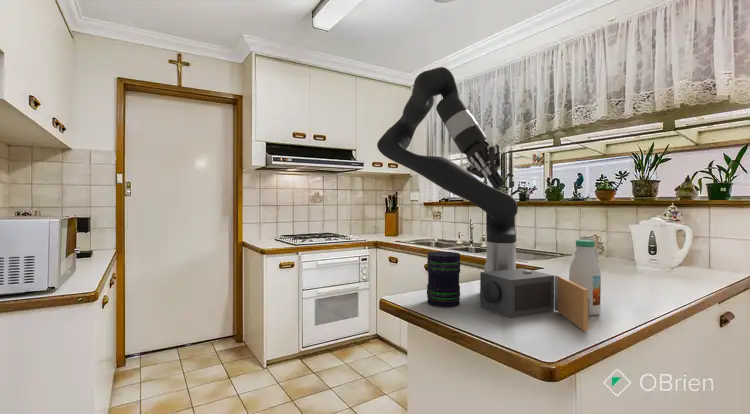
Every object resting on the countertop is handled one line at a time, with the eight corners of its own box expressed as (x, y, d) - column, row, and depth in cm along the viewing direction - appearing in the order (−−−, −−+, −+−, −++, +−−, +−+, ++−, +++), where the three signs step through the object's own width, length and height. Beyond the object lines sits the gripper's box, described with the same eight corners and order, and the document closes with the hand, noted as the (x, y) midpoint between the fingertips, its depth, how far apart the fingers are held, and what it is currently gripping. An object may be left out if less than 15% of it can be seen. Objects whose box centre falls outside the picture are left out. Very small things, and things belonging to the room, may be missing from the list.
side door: (590, 330, 89) (591, 289, 89) (580, 330, 89) (581, 289, 89) (562, 309, 106) (562, 275, 106) (553, 309, 106) (554, 275, 106)
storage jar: (445, 310, 107) (445, 257, 106) (419, 302, 114) (420, 253, 114) (467, 303, 113) (467, 254, 113) (441, 297, 120) (442, 250, 120)
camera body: (504, 319, 99) (505, 278, 98) (474, 307, 110) (474, 270, 109) (554, 311, 106) (555, 273, 106) (521, 300, 117) (521, 266, 117)
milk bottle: (583, 317, 101) (585, 242, 100) (562, 309, 108) (563, 239, 108) (607, 315, 103) (608, 241, 102) (584, 307, 110) (585, 238, 110)
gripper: (443, 148, 105) (476, 201, 102) (466, 122, 93) (504, 181, 90) (463, 140, 108) (496, 191, 105) (488, 113, 96) (526, 171, 93)
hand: (500, 186), depth 97 cm, fingers closed
